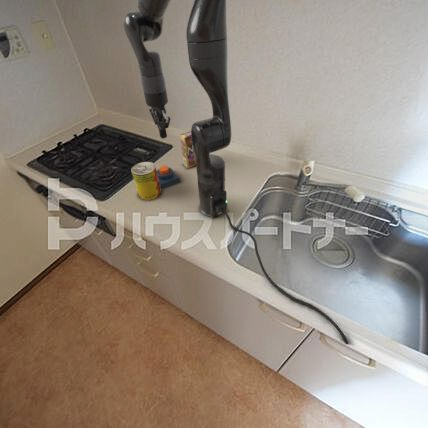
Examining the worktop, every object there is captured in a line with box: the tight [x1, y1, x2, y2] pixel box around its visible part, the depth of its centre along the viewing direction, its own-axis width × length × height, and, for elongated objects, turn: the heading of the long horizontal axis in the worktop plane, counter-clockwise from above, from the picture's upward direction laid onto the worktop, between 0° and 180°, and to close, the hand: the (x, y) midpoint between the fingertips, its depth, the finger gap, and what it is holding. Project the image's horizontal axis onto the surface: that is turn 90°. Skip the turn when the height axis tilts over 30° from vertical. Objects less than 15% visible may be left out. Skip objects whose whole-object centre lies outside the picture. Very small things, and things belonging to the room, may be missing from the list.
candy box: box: [179, 130, 196, 169], centre depth 105 cm, size 9×4×15 cm, turn 124°
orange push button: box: [156, 167, 180, 189], centre depth 102 cm, size 10×8×4 cm
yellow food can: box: [130, 160, 162, 201], centre depth 93 cm, size 9×9×12 cm
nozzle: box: [158, 165, 170, 175], centre depth 100 cm, size 4×4×2 cm
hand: (163, 137), depth 91 cm, fingers closed
